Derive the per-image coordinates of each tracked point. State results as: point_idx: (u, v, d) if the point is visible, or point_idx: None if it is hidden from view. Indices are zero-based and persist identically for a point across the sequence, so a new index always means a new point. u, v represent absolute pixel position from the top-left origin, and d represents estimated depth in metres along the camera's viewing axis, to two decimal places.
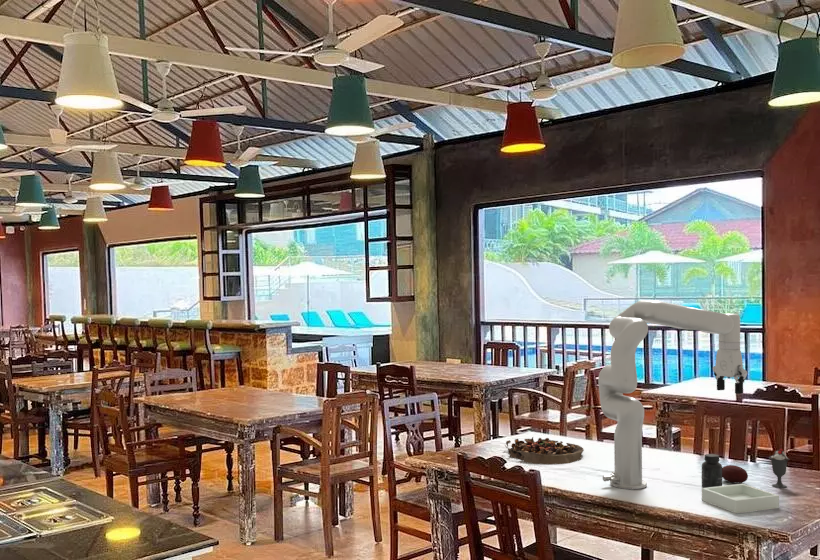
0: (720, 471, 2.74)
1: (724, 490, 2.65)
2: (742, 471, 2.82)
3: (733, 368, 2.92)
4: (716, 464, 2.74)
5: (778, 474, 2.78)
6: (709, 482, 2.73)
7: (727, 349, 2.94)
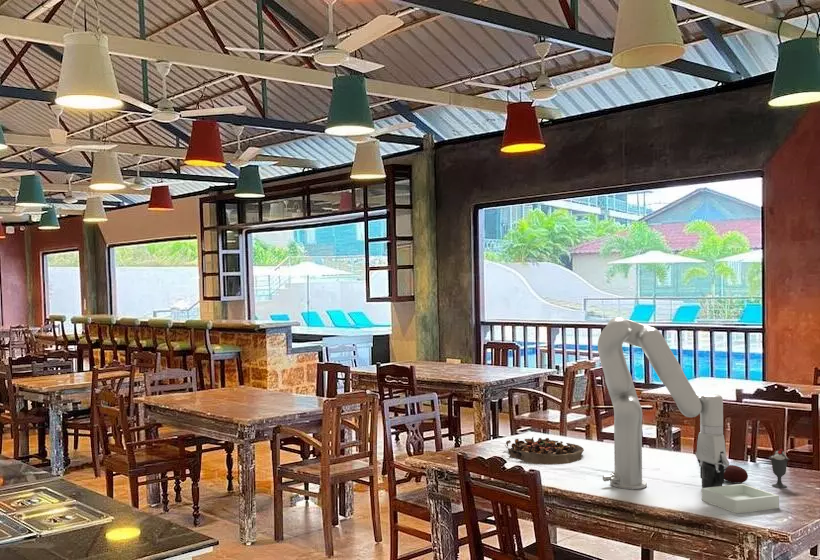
0: None
1: (724, 490, 2.65)
2: (742, 471, 2.82)
3: (715, 455, 2.71)
4: None
5: (778, 474, 2.78)
6: (709, 482, 2.73)
7: (709, 434, 2.73)
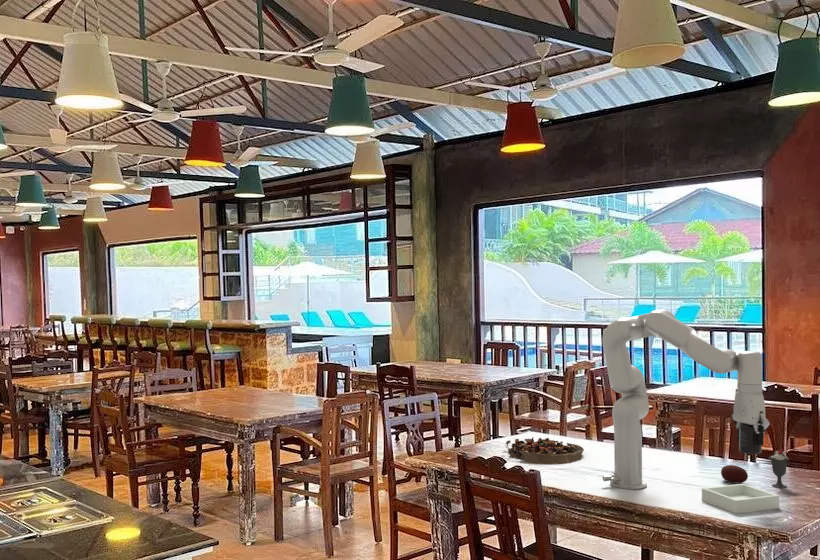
0: None
1: (724, 490, 2.65)
2: (742, 471, 2.82)
3: (754, 415, 2.54)
4: None
5: (778, 474, 2.78)
6: (748, 444, 2.57)
7: (747, 392, 2.56)
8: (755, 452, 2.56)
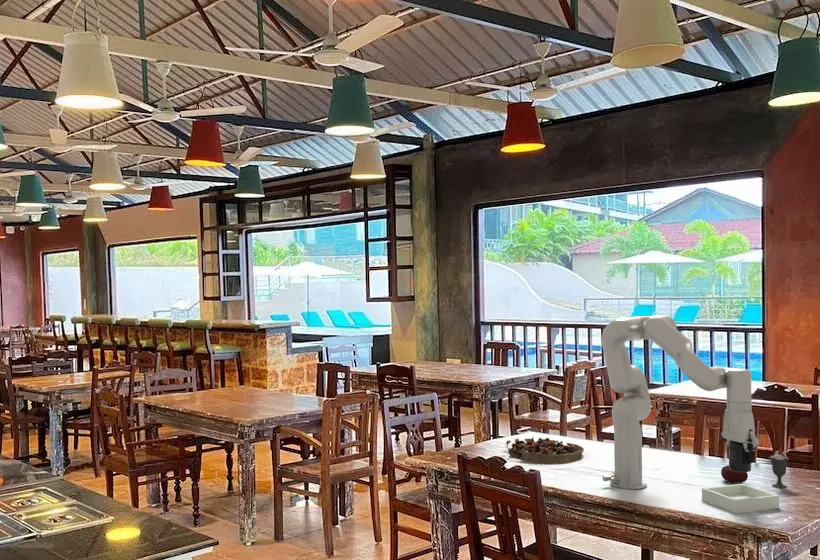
0: None
1: (724, 490, 2.65)
2: None
3: (744, 433, 2.53)
4: None
5: (778, 474, 2.78)
6: (737, 462, 2.55)
7: (736, 410, 2.55)
8: (745, 470, 2.55)
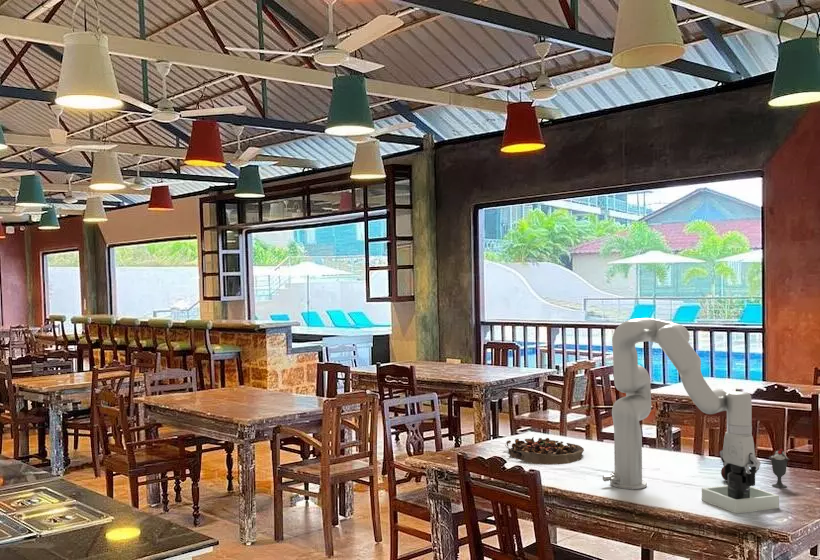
0: None
1: (724, 490, 2.65)
2: None
3: (744, 457, 2.53)
4: (743, 473, 2.56)
5: (778, 474, 2.78)
6: (736, 493, 2.55)
7: (737, 434, 2.55)
8: None
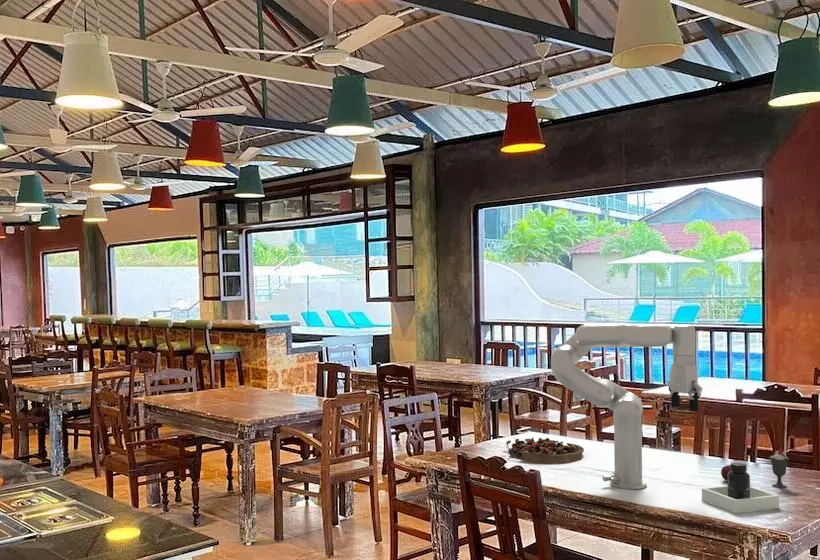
0: (748, 481, 2.56)
1: (724, 490, 2.65)
2: None
3: (687, 384, 2.71)
4: (743, 473, 2.56)
5: (778, 474, 2.78)
6: (736, 493, 2.55)
7: (681, 363, 2.73)
8: None
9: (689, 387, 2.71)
